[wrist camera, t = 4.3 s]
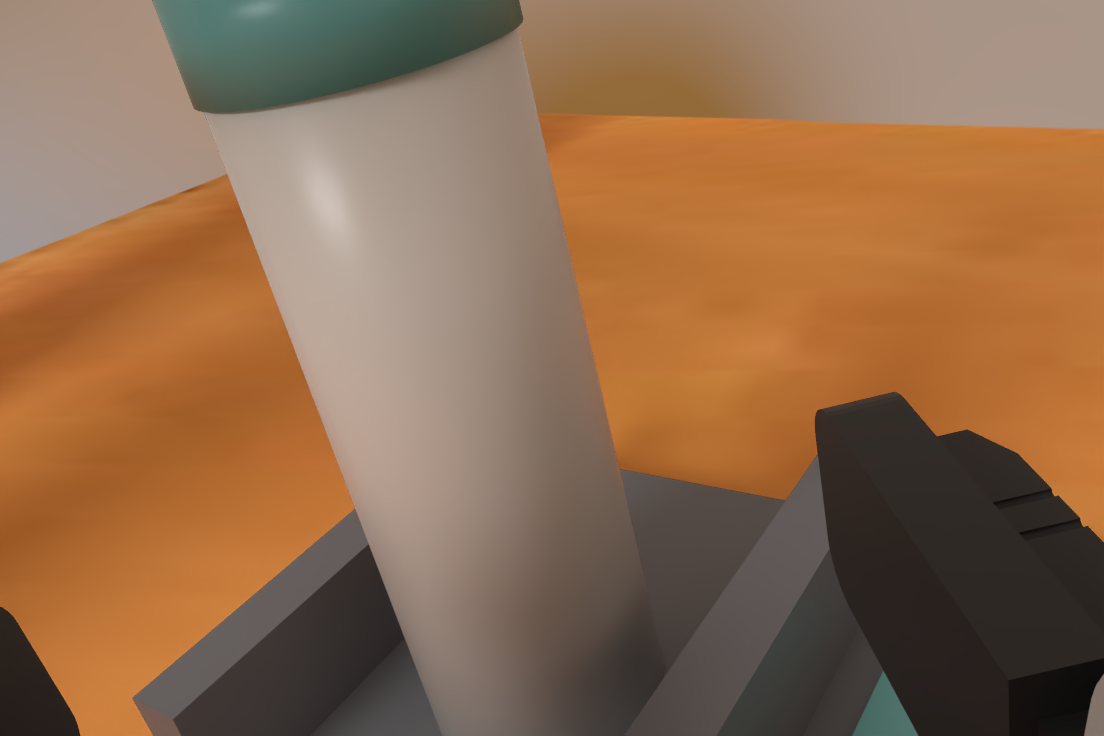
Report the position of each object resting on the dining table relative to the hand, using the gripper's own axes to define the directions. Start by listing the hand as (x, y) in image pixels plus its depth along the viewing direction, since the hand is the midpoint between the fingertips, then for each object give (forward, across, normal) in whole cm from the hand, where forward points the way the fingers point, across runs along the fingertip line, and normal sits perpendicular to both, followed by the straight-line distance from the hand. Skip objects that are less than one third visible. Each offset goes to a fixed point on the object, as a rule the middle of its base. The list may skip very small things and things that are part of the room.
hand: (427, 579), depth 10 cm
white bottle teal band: (+6, 0, +8) cm, 10 cm away
